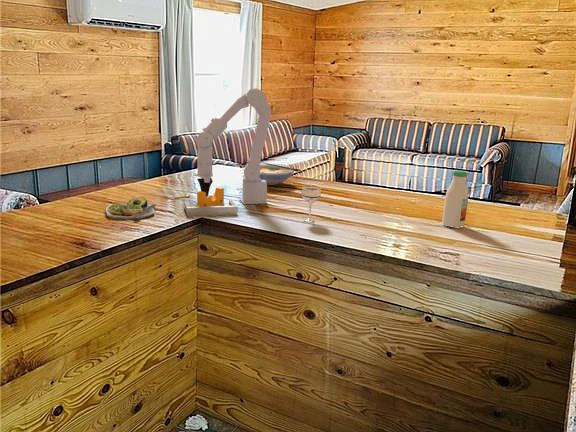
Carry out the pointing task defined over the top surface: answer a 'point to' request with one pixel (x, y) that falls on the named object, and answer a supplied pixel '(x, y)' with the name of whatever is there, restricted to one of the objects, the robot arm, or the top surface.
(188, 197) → the brass spoon
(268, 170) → the ramen bowl
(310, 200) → the wineglass
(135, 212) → the salad plate
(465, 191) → the milk bottle
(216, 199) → the pipe clamp
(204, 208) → the hitch bracket
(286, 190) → the top surface
